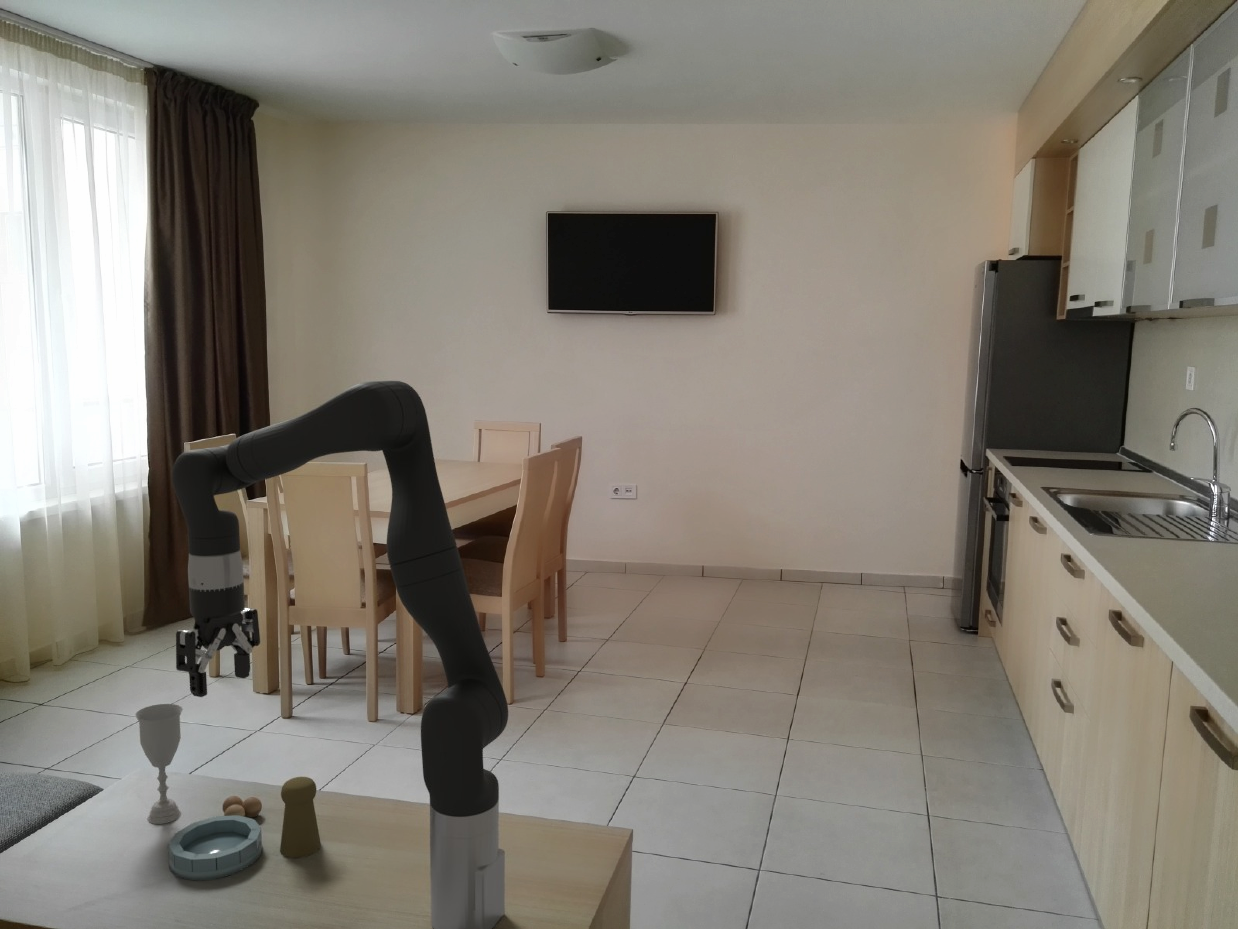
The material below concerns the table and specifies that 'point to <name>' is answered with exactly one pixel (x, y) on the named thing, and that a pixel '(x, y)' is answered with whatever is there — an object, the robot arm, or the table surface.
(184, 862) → the dish
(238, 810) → the bead pile
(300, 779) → the cork
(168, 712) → the chalice
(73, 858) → the table surface
